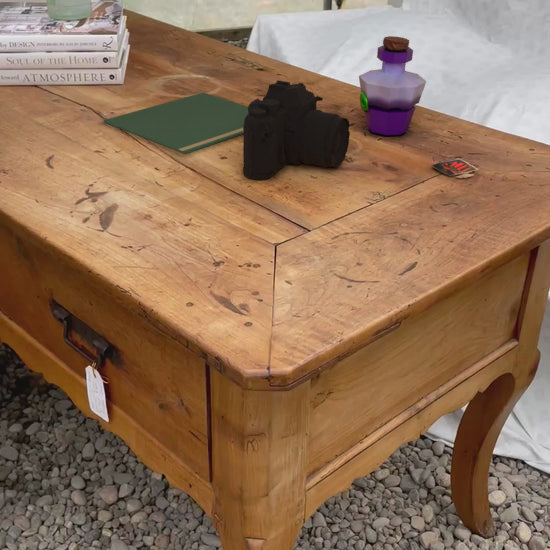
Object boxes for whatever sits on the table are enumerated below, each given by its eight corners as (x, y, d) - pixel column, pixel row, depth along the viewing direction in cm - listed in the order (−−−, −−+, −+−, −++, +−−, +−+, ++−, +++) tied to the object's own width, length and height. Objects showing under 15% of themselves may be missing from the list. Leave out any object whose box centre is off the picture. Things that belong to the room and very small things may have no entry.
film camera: (310, 194, 84) (314, 114, 80) (232, 176, 88) (232, 99, 83) (360, 150, 96) (367, 78, 92) (290, 136, 100) (292, 66, 95)
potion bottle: (341, 125, 104) (347, 34, 98) (390, 115, 108) (399, 27, 102) (383, 145, 98) (393, 49, 92) (433, 134, 102) (446, 41, 96)
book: (185, 154, 94) (185, 151, 93) (103, 122, 103) (103, 119, 103) (284, 120, 105) (284, 118, 105) (203, 94, 114) (203, 92, 114)
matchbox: (427, 168, 91) (428, 164, 91) (455, 159, 94) (456, 155, 94) (459, 181, 88) (459, 177, 88) (486, 171, 91) (487, 167, 91)
